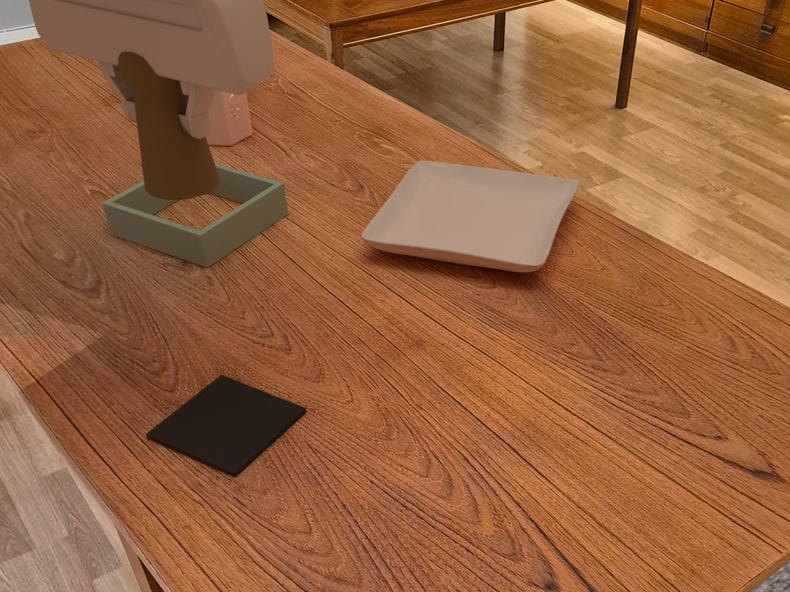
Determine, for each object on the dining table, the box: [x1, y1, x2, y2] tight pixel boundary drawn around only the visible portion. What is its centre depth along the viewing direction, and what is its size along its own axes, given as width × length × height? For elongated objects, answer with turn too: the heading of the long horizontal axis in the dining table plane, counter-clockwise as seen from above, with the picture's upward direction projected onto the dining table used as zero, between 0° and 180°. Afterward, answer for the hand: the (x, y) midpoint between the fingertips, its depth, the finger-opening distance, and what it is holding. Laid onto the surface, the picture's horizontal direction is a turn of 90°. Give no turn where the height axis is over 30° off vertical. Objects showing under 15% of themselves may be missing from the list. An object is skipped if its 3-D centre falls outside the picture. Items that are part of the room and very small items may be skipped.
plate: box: [360, 159, 580, 273], centre depth 105 cm, size 21×21×3 cm
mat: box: [145, 374, 307, 478], centre depth 80 cm, size 10×10×1 cm
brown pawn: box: [118, 51, 220, 201], centre depth 69 cm, size 6×6×11 cm
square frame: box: [101, 162, 289, 269], centre depth 105 cm, size 15×15×4 cm
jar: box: [205, 90, 254, 147], centre depth 120 cm, size 9×8×12 cm
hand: (169, 127), depth 70 cm, fingers closed on brown pawn, 4 cm apart
